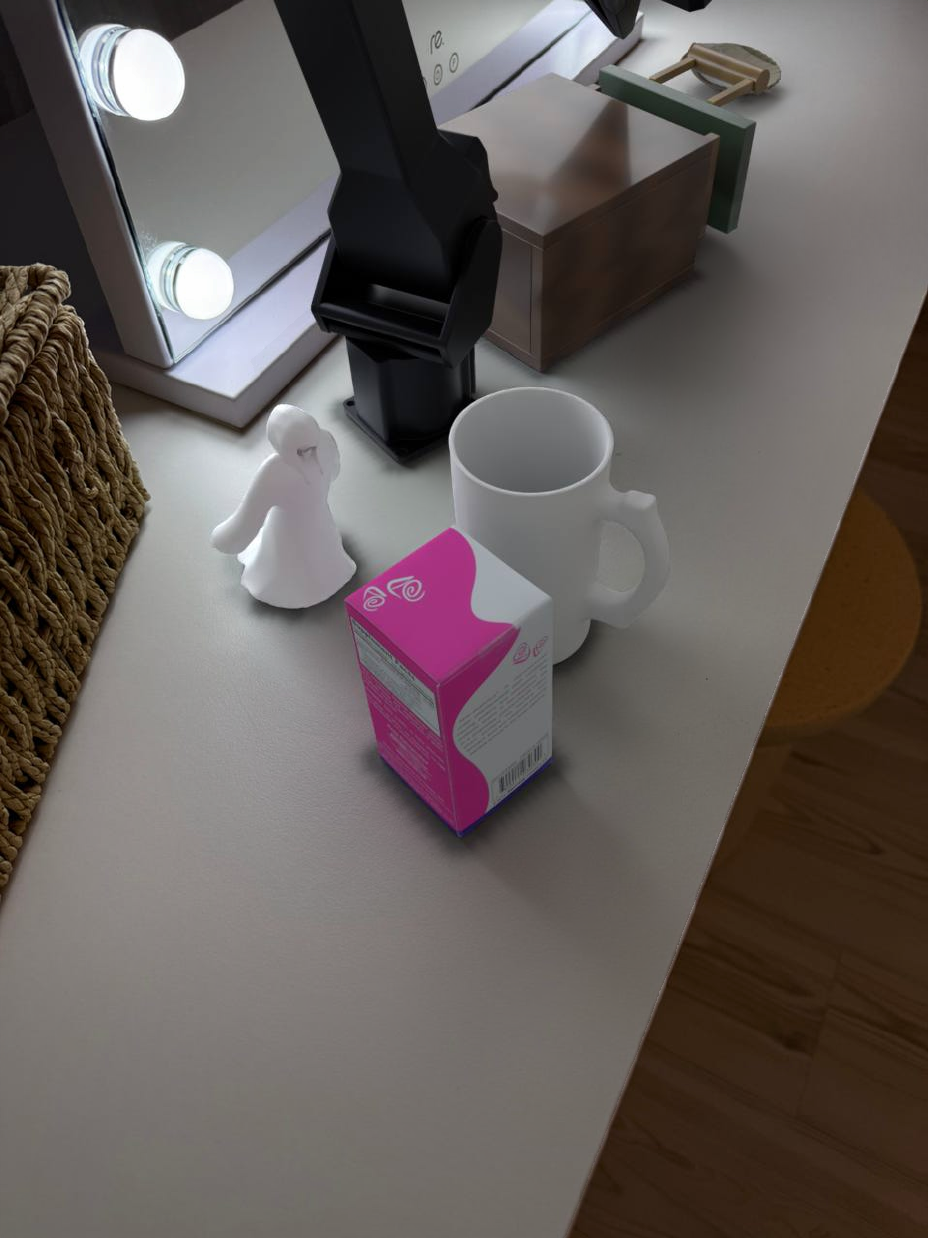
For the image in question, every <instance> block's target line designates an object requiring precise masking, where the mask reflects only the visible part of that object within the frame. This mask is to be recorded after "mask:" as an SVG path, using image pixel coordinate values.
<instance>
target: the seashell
mask: <svg viewBox="0 0 928 1238" xmlns="http://www.w3.org/2000/svg"><path fill="white" fill-rule="evenodd" d="M695 44H700V45H703V46H705V47H708V48H711V49H714V50H716V51H719V52H722V53H724V54H727V55H730V56H733V57H735V58H738V59H741V60H744V61H746V62H749V63H752V64H755V65H757V66H760V67H763V68H765V69H768V70H769V72H770V80H769V83H768V85H767V87H766V89H765V90H764V91H767V90H770V89H771V88H773V87H775V86H776V85H777V84H779V82H780V81H781V78H782V70H781V68H780V66H779V65H778V63H777V61H775V60H774V59H773V58H772V57H770V56H769V55H767V54H766V53H764V52H762V51H760V50H759V49H755V48H754V47H751V46H749V45H743V44H738V43H734V42H721V43H720V42H719V43H717V42H704V43H703V42H692V43H691V45H690V46H689V48H688V49H687V52H686V53H684V54H683V55H682V57H681V59H680V60H679V62H680V61H681V60H683V59H685V58H687V56H688V53H689V51H690V49H691V48H692V47H693V46H694V45H695ZM690 71H691V73H692V74H693V75H694V76H695V78H697V79H698V80H699V81H700V82H701V83H703V84H704V85H706V86H708V87H710V88H712V89H714V90H717V91H719V92H722V91H724V90H726V89H728V88H730V87H732V86H733V85H731V84H728V83H725V82H723V81H720V80H718V79H715V78H712V77H710V76H707V75H704V74H702V73H699V72H697V71H694V70H691V69H690ZM764 91H763V92H764ZM747 94H753V93H752V92H747V93H745V94H744V95H747Z"/></svg>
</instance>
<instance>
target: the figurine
mask: <svg viewBox="0 0 928 1238" xmlns="http://www.w3.org/2000/svg"><path fill="white" fill-rule="evenodd" d="M265 433H266V437H267V440H268V442H269V444H270V445H271V446H272V448H273V449H274V451H275V452H273V453H271V454H270V455H268V456H267V458H265V459H264V460H263V462H262V463H261V464H260V465H259V466H258V468H257V470H256V472H255V474H254V476H253V478H252V480H251V482H250V484H249V486H248V488H247V491H246V493H245V494H244V496H243V498H242V500H241V501H240V504H239V505H238V507H237V509H236V510H235V511H234V512H233V513H232V514H231V515H230V516H229V517H228V518H227V519H226V520H225V521H223V522H221V523H219V525H217V526H216V527H214V528H213V531H212V533H211V535H210V541H209V542H210V543H209V546H210V547H211V548H212V549H216V550H217V552H220V553H222V554H226V555H237V560H238V561H239V563H240V564H241V565H244V570H243V572H242V575H241V576H240V585H241V586H243V587H244V588H245V589H246V590H247V591H248V592H249V594H250V595H251V596H252V597H253V598H254V599H256V600H258V601H259V600H260V601H261V602H262V603H266V604H268V605H269V606H273V607H277V608H284V609H296V610H297V609H301V608H309V607H312V606H314V605H318V604H320V603H321V602H323V601H326V600H328V599H329V598H330V597H331V596H333V595H334V594H336V593H337V592H338V591H339V590H340V589H342V588H343V587H344V586H345V584H347V583H348V582H350V581H351V579H352V577H353V575H354V574H355V573H356V572H357V567H358V566H357V565H356V563H355V561H354V560H353V559H352V558H351V557H350V555H349V554H348V553H347V552H346V550H345V549H344V545H343V536H342V534H341V531H340V530H339V529H338V528H337V527H336V523H335V520H334V517H333V514H332V512H331V509H330V505H329V502H328V496H329V492H330V487H331V484H333V483H334V482H335V481H336V480H337V479H338V477H339V474H340V472H341V457H340V456H341V455H340V451H339V447H338V444H337V442H336V439H335V438H334V436H333V434H332V433H331V432H330V431H329V430H328V429H326V428H324V427H322V426H319V423H318V421H317V420H316V418H315V417H313V415H312V414H310V413H309V412H308V411H306V410H304V409H301V407H298V406H295V405H292V404H287V403H281V404H277V405H276V406H275V407H274V408H273V409H272V411H271V413H270V415H269V417H268V419H267V421H266V427H265ZM263 524H264V525H263Z"/></svg>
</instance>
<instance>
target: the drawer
mask: <svg viewBox="0 0 928 1238" xmlns="http://www.w3.org/2000/svg"><path fill="white" fill-rule="evenodd" d="M680 60H681V59H680ZM680 60H679V61H678V62H675V63H673V64H672V65H670V66H668V67H666V68H664V69H662V70H659V71H658V72H656V73H653V74H652V75H650V76H649V77H648V78H647V77H645V76H642V75H640V74H637V73H634V72H632V71H630V70H627V69H624V68H622V67H620V66H617V65H615V64H611V63H609V64H608V65H605V66H603V67H601V68H599V71H598V84H596V83H591V84H588V85H587V86H586V87H588V88H591V89H593V90H595V91H598V92H600V93H603V94H605V95H607V96H610V97H612V98H615V99H617V100H619V101H622V102H624V103H626V104H629V105H631V106H634V107H636V108H638V109H641V110H643V111H646V112H648V113H650V114H653V115H655V116H657V117H660V118H662V119H665V120H667V121H669V122H672V123H674V124H677V125H679V126H681V127H684V128H686V129H689V130H691V131H693V132H696V133H698V134H700V135H703V136H705V137H708V138H710V139H712V140H714V142H713V149H712V154H711V155H712V156H711V163H710V169H709V176H708V182H707V189H706V195H705V202H704V209H703V215H702V222H701V228H700V235H699V238H701V237H702V236H704V235H705V234H706V230H707V226H708V227H710V228H713V229H715V230H717V231H719V232H721V233H723V234H725V235H728V234H730V233H732V232H733V231H735V230H736V229H738V227H739V222H740V216H741V211H742V205H743V199H744V195H745V189H746V183H747V178H748V173H749V166H750V161H751V155H752V149H753V144H754V139H755V133H756V127H757V121H756V120H753V119H750V118H748V117H745V116H742V115H741V114H737V113H735V112H732V111H730V110H728V109H726V108H723V106H725V105H726V104H728V103H730V102H732V101H734V100H736V99H738V98H739V97H742V96H743V95H746V94H745V93H747V92H752V93H751V94H754V95H757V96H758V95H759V96H760V95H761V94H763V93H764V90H765V89H766V87H767V85H768V83H769V80H770V72H769V70H768V69H765V68H763V67H760V66H757V65H755V64H752V63H749V62H746V61H744V60H741V59H738V58H735V57H733V56H730V55H727V54H724V53H722V52H719V51H716V50H714V49H711V48H708V47H705V46H703V45H700V44H695V45H694V46H693V47H692V48H691V49H690V51H689V53H688V56H687V58H685V59H683V60H681V61H680ZM691 70H694V71H697V72H699V73H702V74H704V75H707V76H710V77H712V78H715V79H718V80H720V81H723V82H725V83H728V84H731V85H733V86H732V87H730V88H728V89H726V90H724V91H720V92H719V93H716V94H715V95H713V96H711V97H709V98H708V99H707V101H705V100H702V99H700V98H697V97H695V96H692V95H690V94H688V93H684V92H682V91H680V90H677V89H674V88H672V87H670V86H667V85H665V83H666V82H669V81H671V80H673V79H674V78H676V77H679V76H680V75H683V74H684V73H686V72H688V71H691ZM765 91H766V90H765Z"/></svg>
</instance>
